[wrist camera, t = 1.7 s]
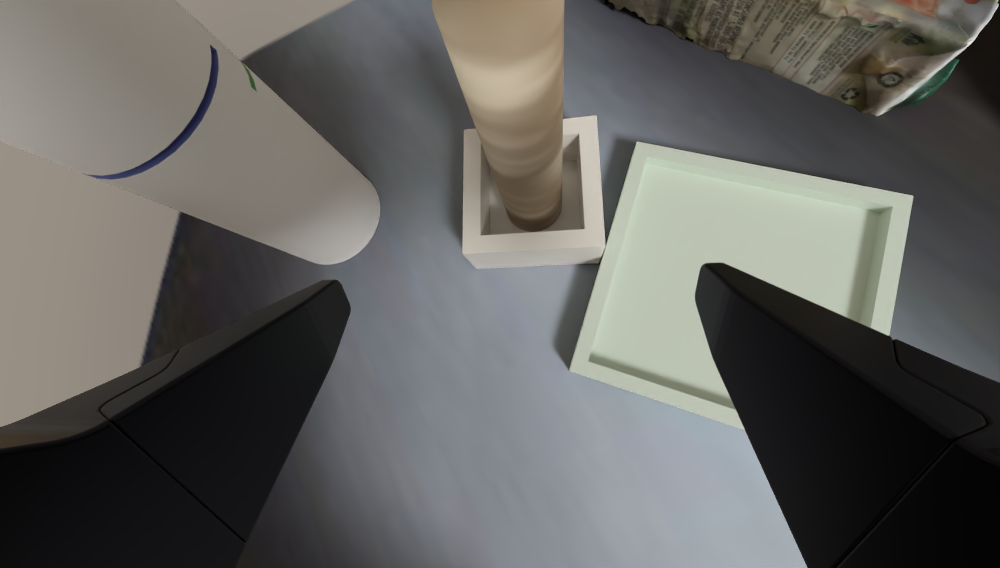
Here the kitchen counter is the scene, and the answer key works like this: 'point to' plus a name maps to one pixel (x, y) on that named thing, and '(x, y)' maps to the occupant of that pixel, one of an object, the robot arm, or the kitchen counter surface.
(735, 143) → the kitchen counter surface
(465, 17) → the dowel
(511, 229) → the holder
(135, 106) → the cylindrical container
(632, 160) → the tray
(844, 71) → the juice carton
